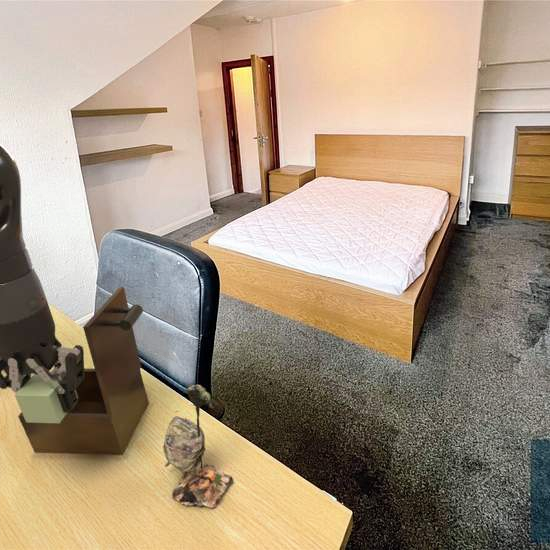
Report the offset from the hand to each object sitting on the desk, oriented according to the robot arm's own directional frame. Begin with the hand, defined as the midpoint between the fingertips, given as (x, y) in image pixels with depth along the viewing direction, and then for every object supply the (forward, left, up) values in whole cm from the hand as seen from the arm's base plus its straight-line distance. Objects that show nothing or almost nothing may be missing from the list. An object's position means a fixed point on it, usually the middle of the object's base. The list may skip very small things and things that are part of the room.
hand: (52, 407), depth 59 cm
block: (0, 0, 0) cm, 0 cm away
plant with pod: (+17, +8, -18) cm, 26 cm away
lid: (-1, +14, 0) cm, 14 cm away
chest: (-9, +11, -18) cm, 23 cm away
